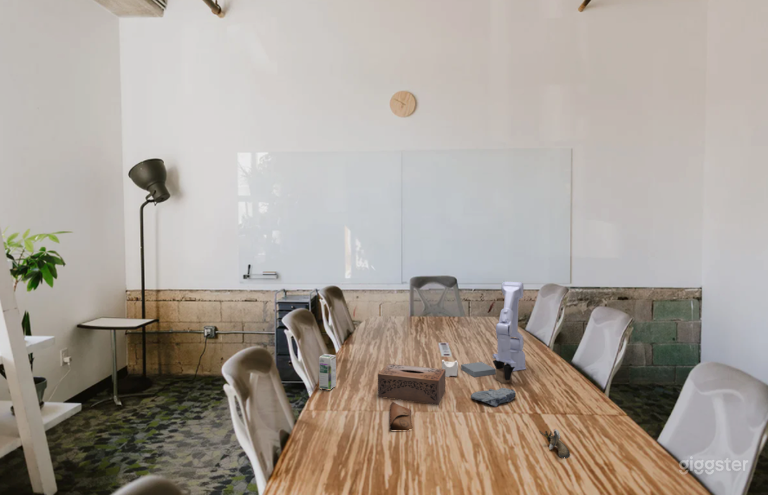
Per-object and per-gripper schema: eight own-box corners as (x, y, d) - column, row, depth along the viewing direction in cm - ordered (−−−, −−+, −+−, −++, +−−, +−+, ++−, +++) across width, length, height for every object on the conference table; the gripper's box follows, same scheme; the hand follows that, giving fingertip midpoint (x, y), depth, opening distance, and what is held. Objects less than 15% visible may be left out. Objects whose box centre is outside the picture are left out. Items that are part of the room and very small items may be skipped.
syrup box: (318, 389, 181) (318, 356, 181) (325, 384, 187) (324, 353, 186) (330, 391, 179) (330, 358, 179) (336, 386, 185) (336, 354, 185)
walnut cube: (504, 378, 194) (504, 367, 194) (511, 381, 190) (511, 371, 189) (495, 379, 192) (496, 369, 192) (502, 383, 188) (502, 372, 188)
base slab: (481, 366, 211) (481, 361, 211) (495, 374, 200) (495, 368, 200) (461, 369, 207) (461, 364, 207) (474, 377, 196) (474, 372, 196)
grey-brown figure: (533, 442, 133) (550, 451, 124) (542, 421, 135) (559, 428, 126) (552, 453, 134) (570, 463, 125) (561, 432, 135) (579, 441, 127)
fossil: (466, 398, 172) (466, 389, 172) (499, 390, 180) (499, 381, 180) (487, 410, 160) (487, 400, 160) (521, 401, 168) (521, 391, 168)
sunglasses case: (414, 431, 143) (404, 414, 142) (397, 441, 143) (387, 425, 143) (411, 409, 161) (402, 394, 160) (395, 418, 161) (387, 403, 161)
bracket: (456, 377, 196) (456, 362, 196) (441, 376, 197) (441, 361, 197) (457, 369, 209) (457, 354, 208) (443, 368, 210) (443, 353, 210)
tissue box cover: (445, 392, 178) (445, 369, 178) (438, 405, 165) (438, 380, 164) (388, 385, 187) (388, 363, 186) (378, 397, 173) (377, 373, 173)
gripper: (487, 345, 196) (487, 373, 196) (506, 353, 182) (506, 384, 183) (499, 344, 198) (499, 372, 199) (519, 352, 185) (519, 382, 185)
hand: (503, 377), depth 191 cm, fingers closed on walnut cube, 5 cm apart
